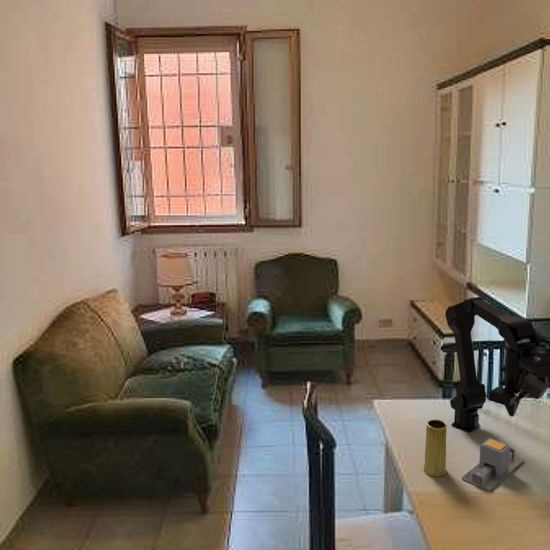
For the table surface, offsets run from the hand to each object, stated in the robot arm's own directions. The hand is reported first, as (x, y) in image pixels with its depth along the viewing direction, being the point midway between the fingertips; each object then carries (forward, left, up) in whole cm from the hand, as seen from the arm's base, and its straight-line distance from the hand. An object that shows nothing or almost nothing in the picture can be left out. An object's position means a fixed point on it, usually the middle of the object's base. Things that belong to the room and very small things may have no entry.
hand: (511, 415), depth 159 cm
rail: (0, -9, -13) cm, 16 cm away
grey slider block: (0, -9, -12) cm, 15 cm away
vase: (-11, -20, -13) cm, 27 cm away
